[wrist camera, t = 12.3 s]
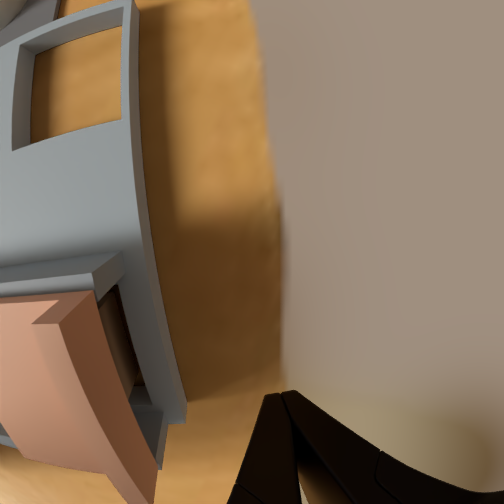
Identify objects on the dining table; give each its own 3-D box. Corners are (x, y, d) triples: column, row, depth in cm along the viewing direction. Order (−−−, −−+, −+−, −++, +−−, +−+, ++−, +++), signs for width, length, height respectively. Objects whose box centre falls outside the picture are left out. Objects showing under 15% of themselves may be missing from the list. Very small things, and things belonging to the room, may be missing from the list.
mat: (-50, 93, 8) (-54, 92, 8) (-23, -7, 6) (-25, -9, 6) (54, 36, 9) (50, 33, 8) (78, -61, 7) (76, -64, 7)
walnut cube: (69, 373, 12) (37, 421, 8) (42, 300, 11) (-5, 337, 8) (138, 370, 13) (118, 428, 9) (114, 291, 12) (77, 334, 8)
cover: (29, 449, 8) (13, 480, 6) (-43, 300, 7) (-78, 321, 5) (158, 466, 9) (152, 509, 7) (93, 289, 7) (58, 323, 5)
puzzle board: (16, 395, 12) (-15, 438, 8) (-38, 87, 8) (-87, 74, 4) (187, 402, 13) (181, 469, 9) (139, 12, 9) (114, -44, 5)
